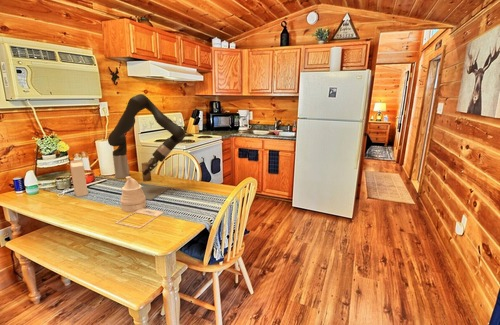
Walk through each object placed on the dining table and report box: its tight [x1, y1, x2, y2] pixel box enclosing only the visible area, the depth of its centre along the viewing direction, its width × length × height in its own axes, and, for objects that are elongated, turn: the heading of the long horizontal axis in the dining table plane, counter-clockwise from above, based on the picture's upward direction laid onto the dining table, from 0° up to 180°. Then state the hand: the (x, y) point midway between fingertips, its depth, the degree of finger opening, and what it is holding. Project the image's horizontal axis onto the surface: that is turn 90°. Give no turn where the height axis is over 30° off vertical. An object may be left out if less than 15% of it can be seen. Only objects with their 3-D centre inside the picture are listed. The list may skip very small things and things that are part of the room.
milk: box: [69, 159, 89, 198], centre depth 157 cm, size 6×6×22 cm
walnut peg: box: [141, 161, 152, 182], centre depth 161 cm, size 5×5×11 cm
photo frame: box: [114, 207, 165, 229], centre depth 130 cm, size 15×1×18 cm
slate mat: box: [141, 184, 171, 201], centre depth 164 cm, size 22×18×1 cm
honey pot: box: [119, 175, 147, 213], centre depth 141 cm, size 13×13×18 cm
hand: (143, 173), depth 160 cm, fingers closed on walnut peg, 4 cm apart
